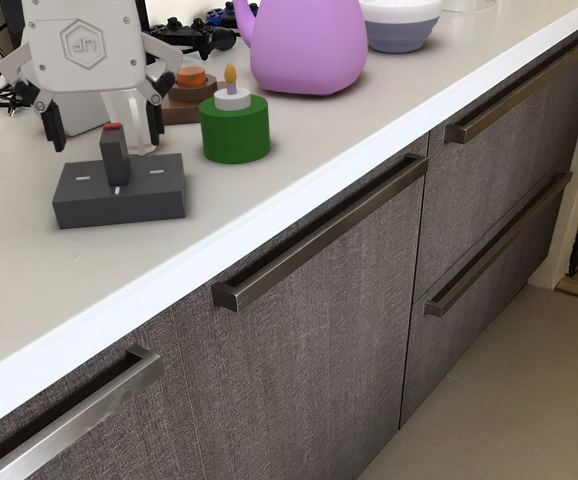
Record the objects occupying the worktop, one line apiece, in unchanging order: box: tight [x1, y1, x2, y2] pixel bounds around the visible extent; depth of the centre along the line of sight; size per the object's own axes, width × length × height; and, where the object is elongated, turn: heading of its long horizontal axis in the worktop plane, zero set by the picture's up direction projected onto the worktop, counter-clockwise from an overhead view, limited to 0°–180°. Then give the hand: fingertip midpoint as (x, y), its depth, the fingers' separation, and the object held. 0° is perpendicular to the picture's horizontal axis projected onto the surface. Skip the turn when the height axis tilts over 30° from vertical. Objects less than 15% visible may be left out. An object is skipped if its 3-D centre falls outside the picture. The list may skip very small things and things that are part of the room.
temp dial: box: [98, 122, 131, 186], centre depth 69 cm, size 5×2×5 cm, turn 7°
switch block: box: [161, 73, 227, 126], centre depth 93 cm, size 12×10×4 cm
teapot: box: [231, 0, 369, 97], centre depth 99 cm, size 23×21×15 cm
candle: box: [198, 63, 271, 165], centre depth 79 cm, size 8×8×10 cm
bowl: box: [359, 0, 444, 54], centre depth 112 cm, size 14×14×8 cm
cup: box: [100, 75, 158, 157], centre depth 81 cm, size 7×10×8 cm
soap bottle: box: [19, 25, 111, 137], centre depth 86 cm, size 16×5×20 cm, turn 142°
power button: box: [177, 65, 206, 86], centre depth 91 cm, size 4×4×2 cm
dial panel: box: [51, 152, 186, 230], centre depth 72 cm, size 13×10×3 cm
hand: (108, 144), depth 69 cm, fingers open, 9 cm apart
